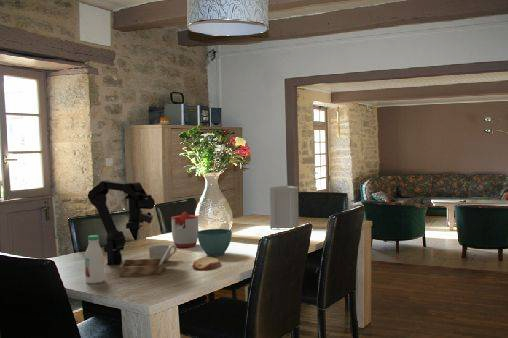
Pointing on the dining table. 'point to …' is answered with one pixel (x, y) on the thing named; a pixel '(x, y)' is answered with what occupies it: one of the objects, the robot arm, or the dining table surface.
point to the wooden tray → (141, 267)
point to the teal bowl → (214, 241)
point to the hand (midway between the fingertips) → (135, 240)
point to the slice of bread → (205, 263)
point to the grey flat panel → (166, 253)
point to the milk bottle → (94, 261)
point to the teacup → (161, 252)
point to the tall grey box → (284, 207)
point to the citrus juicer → (185, 230)
